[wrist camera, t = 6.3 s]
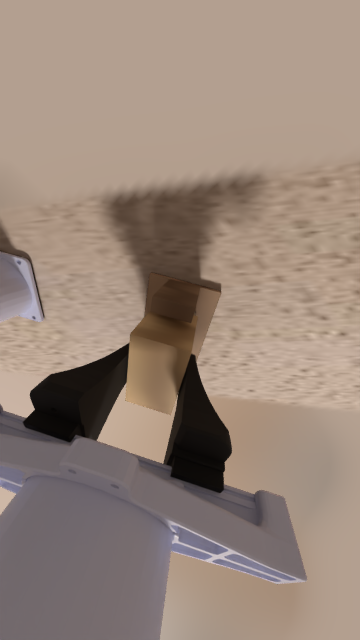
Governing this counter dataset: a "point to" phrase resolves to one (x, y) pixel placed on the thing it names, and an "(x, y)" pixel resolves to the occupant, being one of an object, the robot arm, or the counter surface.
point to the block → (158, 360)
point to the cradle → (182, 303)
